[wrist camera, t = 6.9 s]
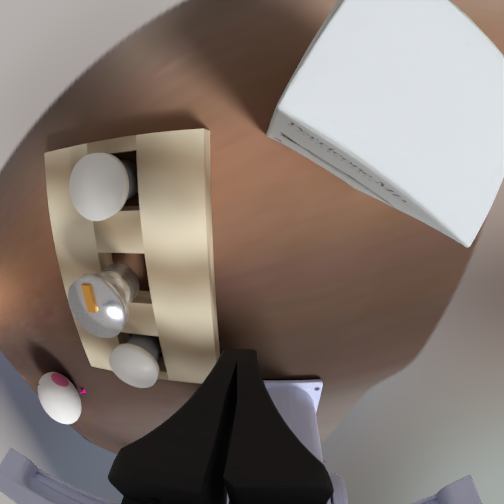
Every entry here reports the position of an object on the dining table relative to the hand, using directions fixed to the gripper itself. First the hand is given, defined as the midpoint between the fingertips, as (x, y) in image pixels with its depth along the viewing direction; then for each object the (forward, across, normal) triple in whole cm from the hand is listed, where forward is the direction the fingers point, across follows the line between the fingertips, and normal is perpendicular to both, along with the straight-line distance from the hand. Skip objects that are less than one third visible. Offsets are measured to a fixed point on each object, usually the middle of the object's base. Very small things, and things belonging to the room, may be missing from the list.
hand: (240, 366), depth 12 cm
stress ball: (+10, +24, +17) cm, 31 cm away
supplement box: (+10, -6, -11) cm, 16 cm away
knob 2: (+10, +9, +7) cm, 15 cm away
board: (+10, +9, 0) cm, 14 cm away
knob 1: (+10, +9, -7) cm, 15 cm away
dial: (+7, +9, 0) cm, 12 cm away
